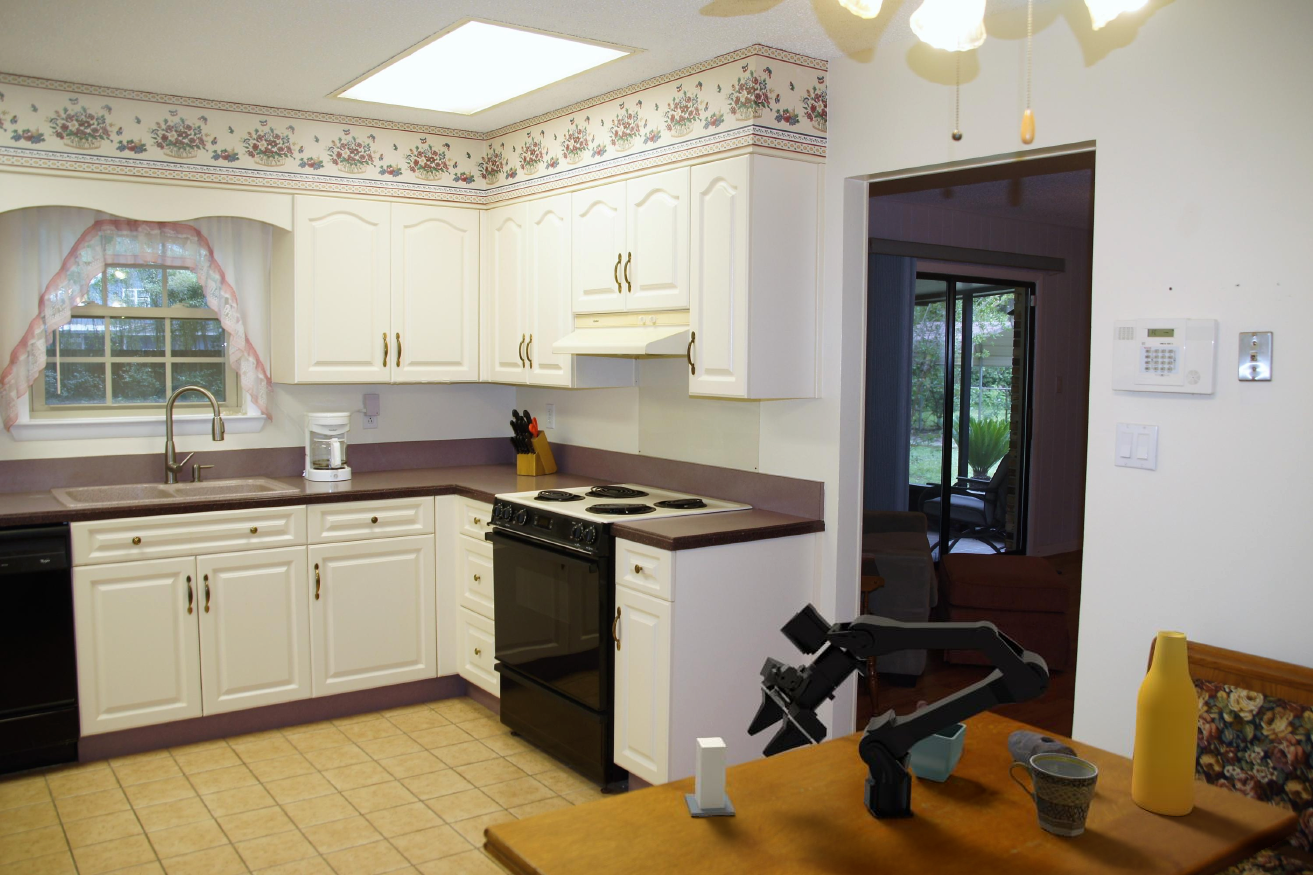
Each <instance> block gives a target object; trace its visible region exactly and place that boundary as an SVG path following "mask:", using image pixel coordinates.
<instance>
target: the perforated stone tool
mask: <svg viewBox="0 0 1313 875" xmlns="http://www.w3.org/2000/svg"><path fill="white" fill-rule="evenodd" d="M1007 749H1008V751H1009V753H1010V755H1011V756H1012V758H1013V759H1014V760H1015V761H1016V762H1021V763H1024V764H1026V765H1027V766H1031V765H1030V758H1031V757H1033V756H1035V755H1038V754H1044V753H1055V754H1063V755H1069V756H1073V757H1077V758H1078V754H1077V752H1076V751H1075V750H1074V748H1072V747H1071V746H1068V745H1067V744H1065V743H1063V742H1062V741H1060V740H1057V739H1055V738H1054V737H1050V736H1049V735H1044V734H1042V733H1038V732H1034V731H1029V730H1016V731H1013V732H1012V733H1011V734H1010V735H1009V737H1008V739H1007Z"/></svg>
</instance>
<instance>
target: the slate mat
mask: <svg viewBox="0 0 1313 875" xmlns="http://www.w3.org/2000/svg"><path fill="white" fill-rule="evenodd" d="M684 799H685V803H686V805H687V808H689V809H688V811H690V812H689V813H690V817H691V816H699V817H709V816H708V815H711V816H710V817H713V816H712V815H736V811H735V808H734V806H733V803H732V802H731V800H730V797H729V795H728V793H726V792H725V808H707V809H700V808H699V805H698V803H697V801H696V799H695V793H685V794H684ZM705 815H706V816H705Z"/></svg>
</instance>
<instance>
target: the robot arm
mask: <svg viewBox="0 0 1313 875" xmlns="http://www.w3.org/2000/svg"><path fill="white" fill-rule="evenodd" d="M779 632H780V633H781V634H782V635H783V636H784V637H785V638H786V639H787V640H788V641H789V643H791V644H792V645H793V646H794V647H795V648H796V649H797V650H798V652H800V653H801V654H802V655H803V656H804V655H807V656H810V655H811V656H814V655H815V654H816V653H817V652H819V651H820V650H821V649H822V648H823V647H824V645H825V644H826V643H829V645H828V646H827V647H825V648H824V649H823V651H822V652H820V654H818V655H817V656H816V657H815V659H814V660H813V661H812V662H811V663H810V664H809V665H807V666H806V665H805V664H800V665H798V667H795V666H791V665H790V664H788V663H783V662H781V661H779V660H777V659H775V658H773V657H770V656H767V658H766V660H765V661H764V664H763V666H762V668H761V670H760V673H759V675H760V676H762V677H763V680H762V681H761V682H760V683H761V684H762V685H763V686H761V687H760V691H761V703H760V705H759V708H758V709H757V711H756V714H755V716H754V717H753V719H752V720H751V723H750V725H749V726H748V728H747V730H746V732H747V734H748V735H749V736H751V737H753V736H755V735H757V734H759V733H762V731H764V730H766V729H768V728H770V727H771V726H773V725H774V724H775V725H776V723H778V722H780V721H781V720H782V725H781V727H780V728H779V729H778V731H777V732H776V733H775V734H774V735H773V737H772V738H771V740H770V741H769V742H768V743H767V745H766V746H765V747H764V749H763V750H762V751H761V752H762V755H763V756H764V757H765V758H770V757H773V756H775V755H779V754H781V753H784V752H787V751H790V750H792V749H796V748H800V747H803V746H807V745H810V746H812V745H814V742H815V743H816V744H817V745H820V744H821V743H822V742H823V741H824V740H825V739H826V737H827V734H828V727H826V726H825V724H823V722H822V721H821V720H820V719H819V718H818V713H817V712H816V711H817V709H818V708H820V707H821V706H822V704H823V703H824V702H826V700H827V699H829V701H831V702H833V701H834V700H835V698H837V697H836V695H835V694H834V692H835V691H837V689H838V688H839V687H840V686H841V685H842V684H844V682H845V681H846V680H847V679H848V678H849V677H850V676H851V675H852V674H853V673H854V672H855V671H857V672H858V673H859V674H860V676H863V677H868V675H869V672H868V664H869V660H868V658H869V659H870V658H873V657H875V658H876V657H879V656H884V655H885V656H886V655H889V654H893V653H895V652H900V651H906V650H907V651H908V650H909V651H910V650H911V651H913V650H914V651H915V650H920V651H921V650H922V651H923V650H925V651H926V650H929V651H930V650H933V651H935V650H936V651H938V650H939V651H959V650H960V651H980V652H981V653H982V654H983V655H984V656H985V657H986V658H987V659H988V660H989V661H990V662H991V663H992V665H994V667H996V669H995V670H993V671H992V672H991V673H990V674H989V675H987V677H986V678H984V679H982V680H980V681H978V682H976V683H974V684H971V685H970V686H967V687H965V688H963V689H961V690H958V691H957V692H955V693H952V694H950V695H948V696H946V697H944V698H942V699H940V700H937V701H935V702H933V703H931V704H930V705H929V704H928V706H927V707H925V708H923V709H920V710H918V711H916V710H915V711H914V712H912V713H910V714H907V715H900V716H898V715H897V716H896V713H895V711H894V709H893V708H891V709H890V710H888V711H886V712H885V713H884V714H881V715H880V716H876V717H875V716H874V717H871V719H870V721H869V723H868V725H867V726H866V727H865V728H864V731H863V733H862V736H861V738H860V740H859V744H858V747H857V748H858V754H859V757H860V758H861V760H862V762H863V763H864V764H866V765H867V766H868V772H867V775H868V777H866V778H865V780H864V797H863V804H865V806H866V807H867V809H868V810H869V811H870V812H871V814H872V815H873V816H874V817H875V818H876V819H890V818H893V819H894V818H896V819H897V818H914V817H915V813H914V811H913V810H912V809H911V808H912V784H913V783H912V782H913V775H912V774H911V773H910V772H909V767H910V766H909V762H910V758H911V753H910V752H909V751H908V750H909V749H911V748H912V747H913V746H914V745H915V744H916V743H917V742H919V741H921V740H923V739H925V738H928V737H930V736H932V735H934V734H936V733H938V732H941V731H943V730H945V729H947V728H949V727H951V726H954V725H956V724H958V723H959V724H961V723H962V722H964V721H966V720H969V719H970V718H973V717H975V716H977V715H980V714H982V713H985V712H986V711H988V710H990V709H993V708H995V707H998V706H1003V705H1013V704H1014V705H1015V704H1016V705H1017V704H1020V703H1025V702H1029V701H1033V700H1036V699H1039V698H1041V697H1042V696H1044V695H1045V694H1046V693H1047V691H1048V689H1049V686H1050V674H1049V669H1048V666H1047V663H1046V661H1045V660H1044V658H1043V657H1042V656H1040V655H1039V654H1038V653H1036V652H1032V651H1030V650H1026V649H1024V648H1023V647H1022V646H1020V645H1019V643H1018V642H1016V641H1014V640H1013V639H1012V638H1010V637H1009V636H1007V635H1006V634H1005V633H1003V632H1002V631H1001V630H999V628H998V627H997V626H996V625H995V624H994V623H992V622H991V621H988V620H981V621H976V622H971V621H969V622H968V621H966V622H964V621H962V622H961V621H959V622H958V621H957V622H955V621H954V622H905V621H898V620H894V619H892V618H889V617H886V616H885V617H884V616H878V615H872V614H861V615H858V616H857V617H856V618H854V619H853V620H851V621H843V622H834V623H832V624H830V623H829V622H828V621H827V620H826V619H825V618H824V617H823V616H822V615H821V614H820V612H818V611H817V609H816V607H815V606H814V604H812V603H810V602H808V603H807V604H806V605H805V606H804V607H803V608H802V609H801V610H800V611H799V612H798V611H797V612H796V613H795V614H794V615H793V616H792V617H791V618H790V619H789V620H788V621H787V622H786V623H785V624H784V625H783V626H782V627H781V628H780V630H779ZM861 658H863V659H861ZM764 687H765V688H764ZM784 708H785V709H786V710H787V711H786V710H785V709H784ZM789 716H790V717H791V718H790V717H789ZM812 740H813V741H814V742H813V741H812Z"/></svg>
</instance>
